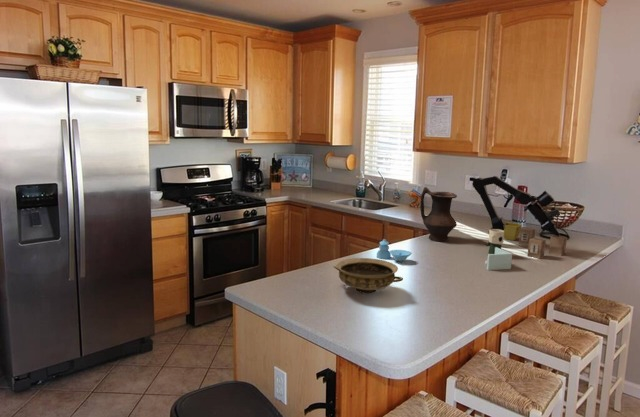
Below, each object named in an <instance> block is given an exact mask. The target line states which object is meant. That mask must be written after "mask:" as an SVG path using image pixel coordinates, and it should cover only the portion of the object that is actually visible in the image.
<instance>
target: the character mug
mask: <svg viewBox="0 0 640 417" xmlns="http://www.w3.org/2000/svg"><path fill="white" fill-rule="evenodd" d="M488 232H489V233H488V240H489V242H490V243H491V244H490V246H488V247H489V248H488V252H487V255H488V254H495V247H497V248H500V249H502V245H503V244H504V240H505V238H504V231H503V230H499V229H491V228H489V230H488ZM501 244H502V245H501Z"/></svg>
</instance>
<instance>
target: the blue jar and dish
mask: <svg viewBox="0 0 640 417" xmlns="http://www.w3.org/2000/svg"><path fill="white" fill-rule="evenodd" d="M389 243H390V242H389V241H387V239H385V238H383V239H382V241H379V246H378V248H379V250H377V252H376V259H379V260H390V259H391V256H392V257H393V258H394V260H395V261H396V262H398V263H403V262H404V261H405V260H406V259H408V258H409V257H410V256H411V255H412V252H411V251H410V250H405V249H392V250H389V249H390V247H389V245H390V244H389Z"/></svg>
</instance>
